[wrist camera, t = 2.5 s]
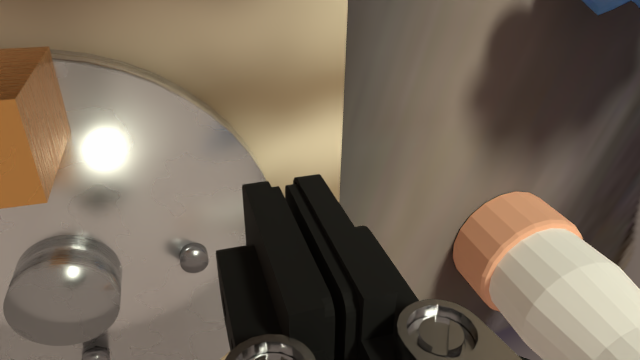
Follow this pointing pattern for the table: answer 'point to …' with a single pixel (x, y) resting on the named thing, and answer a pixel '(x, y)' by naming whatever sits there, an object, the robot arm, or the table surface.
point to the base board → (220, 64)
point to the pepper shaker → (548, 281)
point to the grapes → (606, 5)
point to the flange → (113, 211)
